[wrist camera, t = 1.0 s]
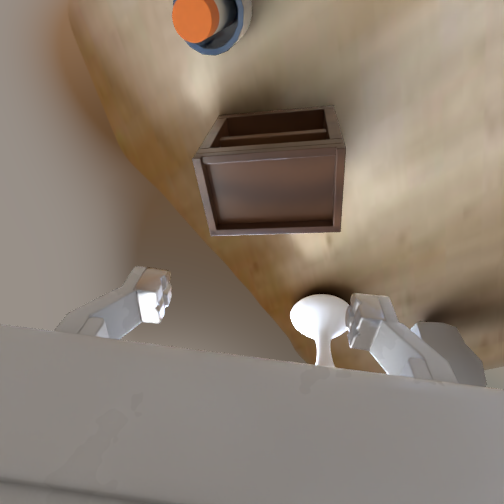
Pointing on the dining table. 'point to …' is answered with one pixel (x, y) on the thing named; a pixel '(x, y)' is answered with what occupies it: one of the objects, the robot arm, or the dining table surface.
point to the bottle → (452, 351)
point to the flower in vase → (320, 322)
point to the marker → (202, 18)
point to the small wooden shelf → (273, 172)
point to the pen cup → (227, 31)
